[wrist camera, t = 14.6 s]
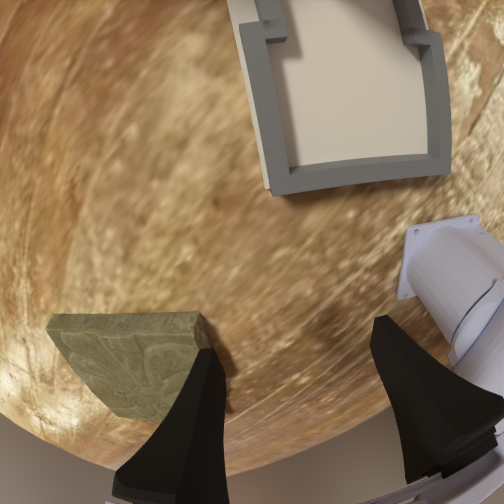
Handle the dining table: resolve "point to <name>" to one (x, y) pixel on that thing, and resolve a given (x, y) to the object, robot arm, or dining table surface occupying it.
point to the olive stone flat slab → (131, 357)
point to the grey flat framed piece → (343, 91)
